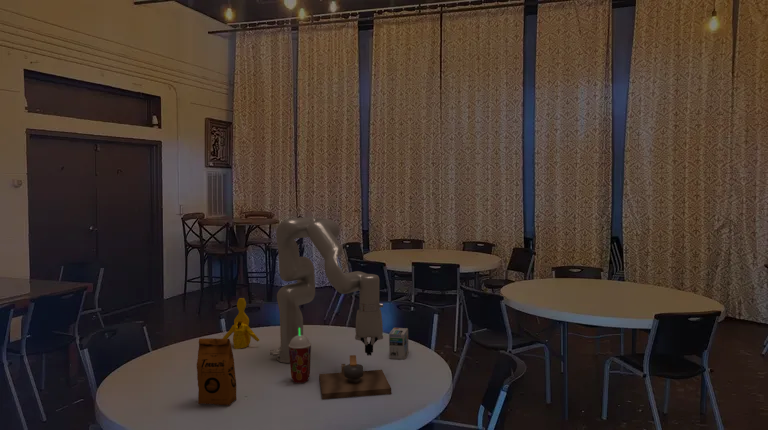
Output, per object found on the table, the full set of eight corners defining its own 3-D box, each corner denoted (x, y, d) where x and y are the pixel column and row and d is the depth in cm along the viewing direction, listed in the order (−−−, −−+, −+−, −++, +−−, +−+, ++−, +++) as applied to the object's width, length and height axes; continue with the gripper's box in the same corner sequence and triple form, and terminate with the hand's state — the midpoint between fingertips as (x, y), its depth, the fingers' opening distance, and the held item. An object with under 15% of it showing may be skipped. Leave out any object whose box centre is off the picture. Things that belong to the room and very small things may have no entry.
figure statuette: (219, 349, 247) (217, 301, 245) (224, 344, 254) (223, 297, 253) (258, 349, 246) (257, 300, 245) (262, 344, 254) (261, 297, 253)
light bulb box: (404, 359, 228) (404, 334, 227) (389, 359, 229) (388, 333, 229) (408, 352, 238) (408, 327, 238) (393, 351, 240) (393, 327, 239)
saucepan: (363, 378, 195) (363, 368, 195) (344, 379, 195) (344, 369, 194) (362, 364, 211) (361, 354, 210) (343, 364, 210) (343, 355, 210)
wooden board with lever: (322, 399, 187) (321, 385, 187) (319, 378, 207) (319, 365, 207) (391, 393, 191) (391, 379, 190) (381, 373, 211) (381, 361, 211)
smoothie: (315, 377, 208) (314, 326, 207) (305, 385, 200) (304, 331, 199) (296, 375, 211) (294, 324, 210) (285, 383, 203) (283, 329, 202)
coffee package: (229, 408, 180) (227, 342, 179) (193, 407, 182) (191, 341, 181) (241, 397, 190) (239, 334, 189) (207, 395, 192) (205, 333, 191)
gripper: (387, 304, 212) (387, 350, 213) (348, 305, 210) (348, 352, 211) (390, 309, 205) (389, 357, 206) (350, 309, 203) (350, 358, 204)
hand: (368, 354), depth 209 cm, fingers closed
